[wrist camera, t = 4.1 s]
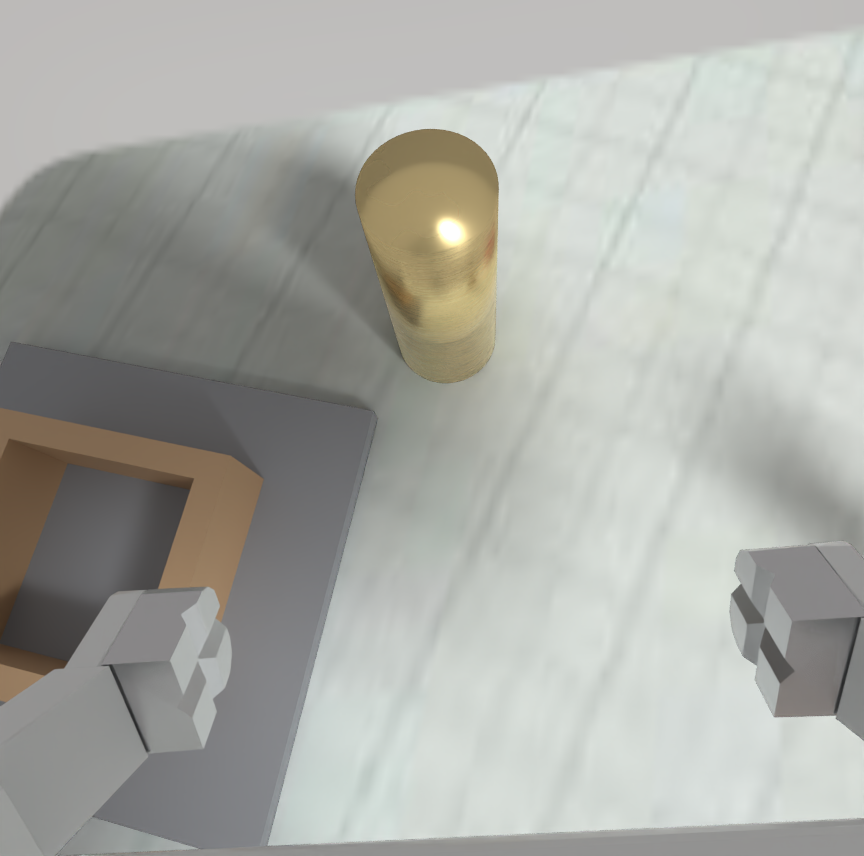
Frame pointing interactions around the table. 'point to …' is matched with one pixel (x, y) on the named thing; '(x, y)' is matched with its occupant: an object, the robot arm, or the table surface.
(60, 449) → the plate
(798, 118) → the table surface
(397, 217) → the brass tube
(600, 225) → the table surface
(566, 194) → the table surface
